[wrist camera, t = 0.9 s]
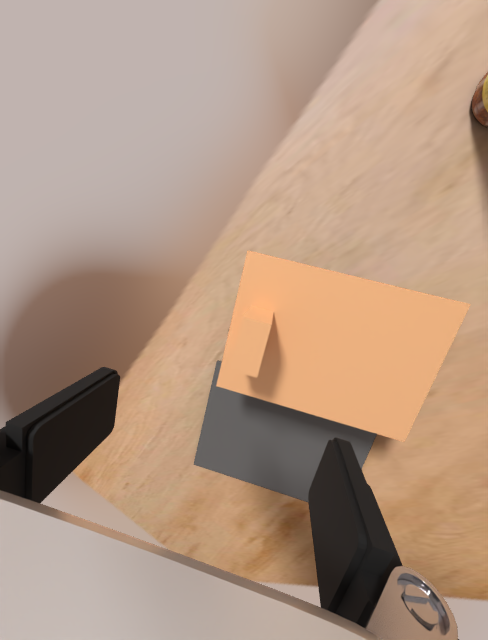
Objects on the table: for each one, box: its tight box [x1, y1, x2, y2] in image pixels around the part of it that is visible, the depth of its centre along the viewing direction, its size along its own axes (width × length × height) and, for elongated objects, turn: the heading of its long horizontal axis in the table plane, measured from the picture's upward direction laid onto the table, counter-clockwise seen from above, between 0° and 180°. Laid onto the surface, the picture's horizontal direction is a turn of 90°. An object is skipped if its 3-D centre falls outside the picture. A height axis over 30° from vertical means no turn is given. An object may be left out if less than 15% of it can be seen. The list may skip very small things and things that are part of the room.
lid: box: [216, 251, 471, 442], centre depth 24 cm, size 22×16×8 cm
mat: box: [194, 361, 377, 502], centre depth 39 cm, size 26×20×1 cm
